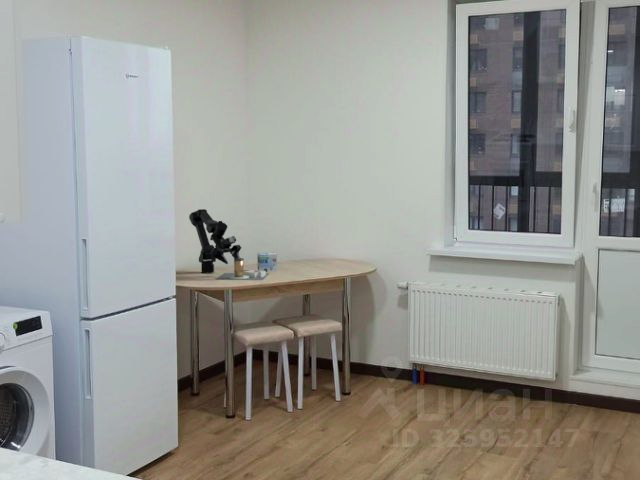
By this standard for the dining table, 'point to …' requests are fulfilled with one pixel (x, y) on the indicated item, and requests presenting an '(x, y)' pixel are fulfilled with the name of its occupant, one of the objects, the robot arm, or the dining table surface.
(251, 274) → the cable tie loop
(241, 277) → the sage pad
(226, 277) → the charcoal mat
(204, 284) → the dining table surface
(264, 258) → the light bulb box
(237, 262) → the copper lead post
